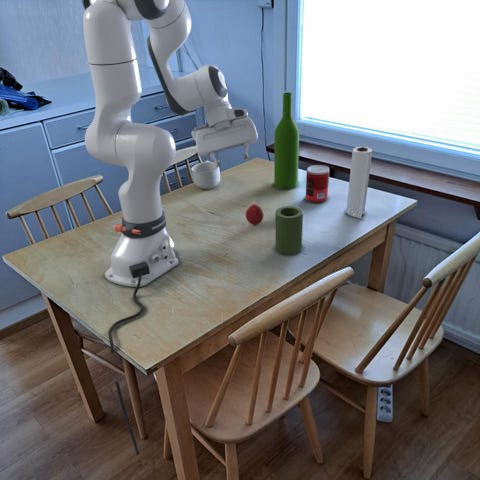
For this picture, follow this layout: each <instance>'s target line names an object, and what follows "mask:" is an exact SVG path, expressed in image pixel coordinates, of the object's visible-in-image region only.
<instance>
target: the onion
mask: <svg viewBox="0 0 480 480" xmlns="http://www.w3.org/2000/svg"><path fill="white" fill-rule="evenodd" d="M264 217H265V214H264V211H263V209H262V207H261V206H260V205H258V204H256V202H255V201H252V204H251V205H250V206H248V208H247V209H246V211H245V219H246V221H247V222H248V223H249V224H250V225H252V226H257V225H259V224H261V222H262V221H263V220H264Z"/></svg>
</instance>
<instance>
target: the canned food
mask: <svg viewBox="0 0 480 480" xmlns="http://www.w3.org/2000/svg"><path fill="white" fill-rule="evenodd" d="M305 180H306V181H305V199H306V201H307V202H309V203H313V204H319V203H323V202H325V201H327V199H328V194H329V193H328V192H329V181H330V167H329V166H327V165H324V164H314V165H310V166H308V167H307V168H306V179H305Z"/></svg>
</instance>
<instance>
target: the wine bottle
mask: <svg viewBox="0 0 480 480" xmlns="http://www.w3.org/2000/svg"><path fill="white" fill-rule="evenodd" d="M292 97H293V93H292V92H284V93H282V116H281V119H280V120H279V122H278V124H277V126H276V127H275V130H274V135H273V136H274V138H273V139H274V141H273V142H274V144H273V145H274V146H273V147H274V151H273V152H274V157H273V159H274V161H273V162H274V164H273V165H274V167H273V168H274V169H273V170H274V175H273V176H274V179H273V180H274V181H273V182H274V187H275V188H277V189H278V190H293V189H296V188H297V187H298V185H299V156H300V155H299V153H300V131H299V127H298V125H297V123H296V122H295V121H294V118H293V116H292V115H293V114H292V110H293V109H292V107H293V106H292V100H293V99H292Z"/></svg>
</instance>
